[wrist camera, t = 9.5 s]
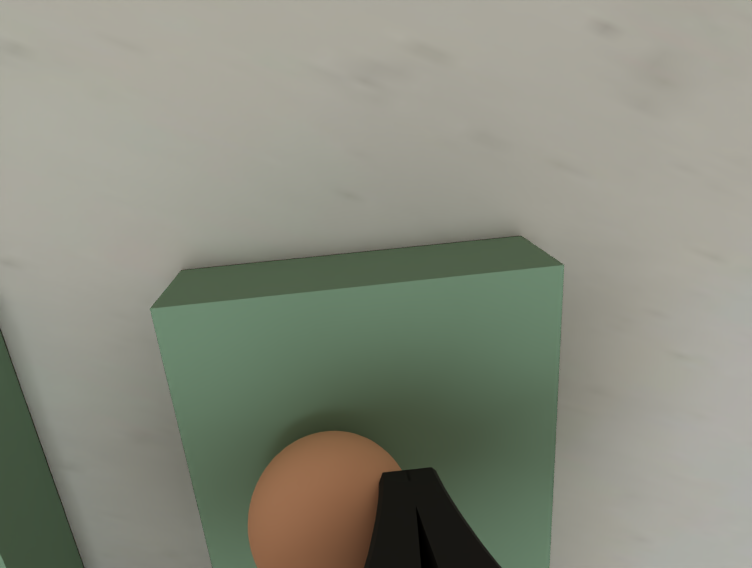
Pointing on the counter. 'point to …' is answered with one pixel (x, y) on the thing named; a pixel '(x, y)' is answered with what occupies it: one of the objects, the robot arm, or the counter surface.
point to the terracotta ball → (318, 502)
